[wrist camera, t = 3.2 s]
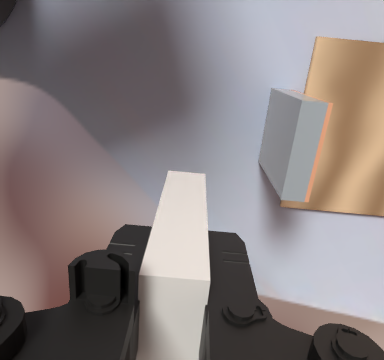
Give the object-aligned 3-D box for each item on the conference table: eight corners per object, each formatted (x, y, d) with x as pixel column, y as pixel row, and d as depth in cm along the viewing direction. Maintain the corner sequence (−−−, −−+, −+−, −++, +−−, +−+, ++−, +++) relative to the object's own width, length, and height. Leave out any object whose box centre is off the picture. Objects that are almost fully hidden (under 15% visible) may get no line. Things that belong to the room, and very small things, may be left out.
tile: (258, 161, 31) (280, 199, 22) (271, 88, 28) (302, 100, 20) (278, 163, 31) (308, 202, 22) (293, 90, 28) (333, 103, 20)
